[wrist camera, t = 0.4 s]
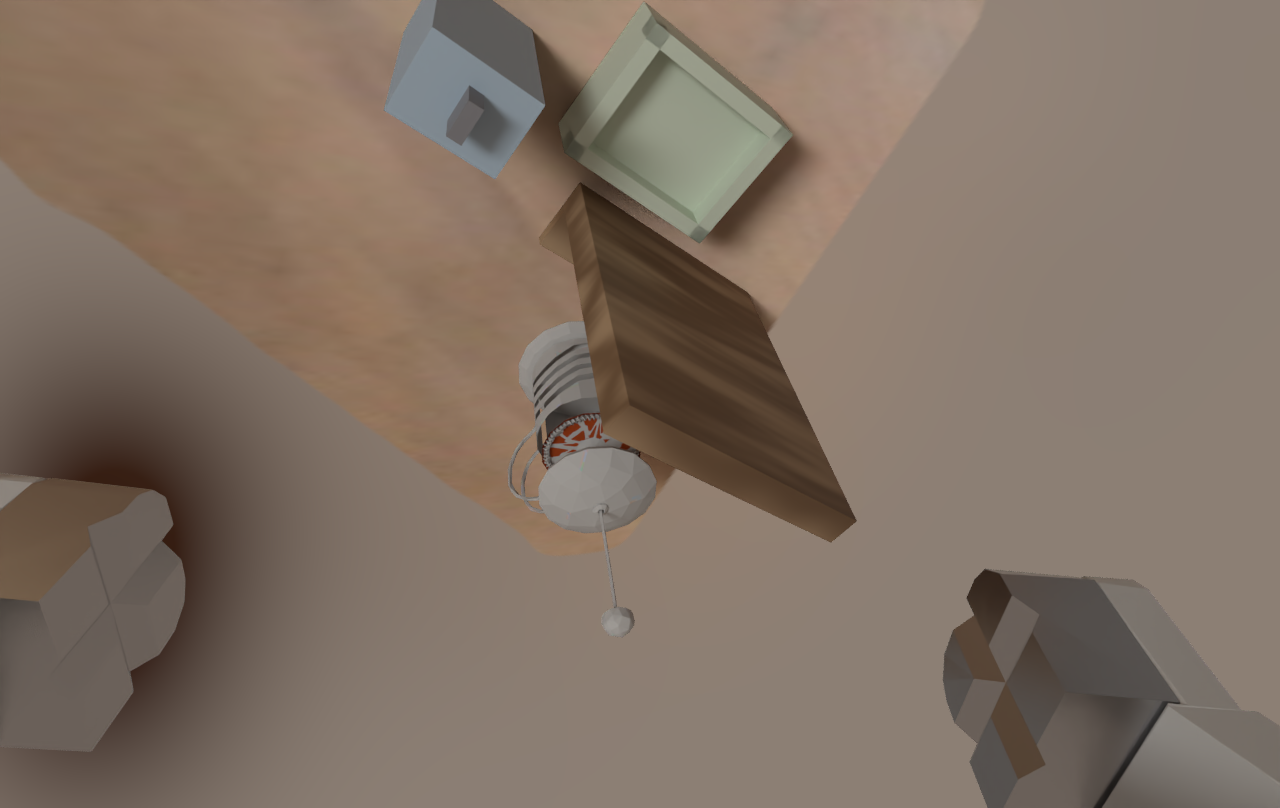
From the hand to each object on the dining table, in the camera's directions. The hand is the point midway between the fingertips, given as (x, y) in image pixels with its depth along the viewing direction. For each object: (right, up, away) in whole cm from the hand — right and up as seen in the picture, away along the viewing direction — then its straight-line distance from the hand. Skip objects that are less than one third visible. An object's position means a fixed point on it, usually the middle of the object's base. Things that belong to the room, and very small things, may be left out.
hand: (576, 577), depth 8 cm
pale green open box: (+2, +21, +45) cm, 49 cm away
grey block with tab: (-10, +24, +40) cm, 47 cm away
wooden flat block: (+1, +12, +52) cm, 53 cm away
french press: (-5, +4, +57) cm, 58 cm away
